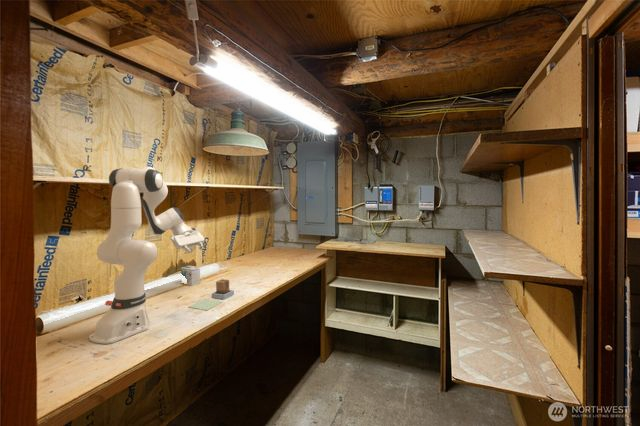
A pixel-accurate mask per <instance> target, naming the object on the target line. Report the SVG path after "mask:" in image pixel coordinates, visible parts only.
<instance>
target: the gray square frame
mask: <svg viewBox="0 0 640 426" xmlns="http://www.w3.org/2000/svg"><path fill="white" fill-rule="evenodd" d="M234 295H235V290H234V289H233V290H232V289H229V292H228V293H226V294H224V295H223V294H216V291H214V292H212V293H211V298H212V299H215V300H216V299H218V300H224V301H225V300H226V299H229V298H230V297H233V296H234Z"/></svg>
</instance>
